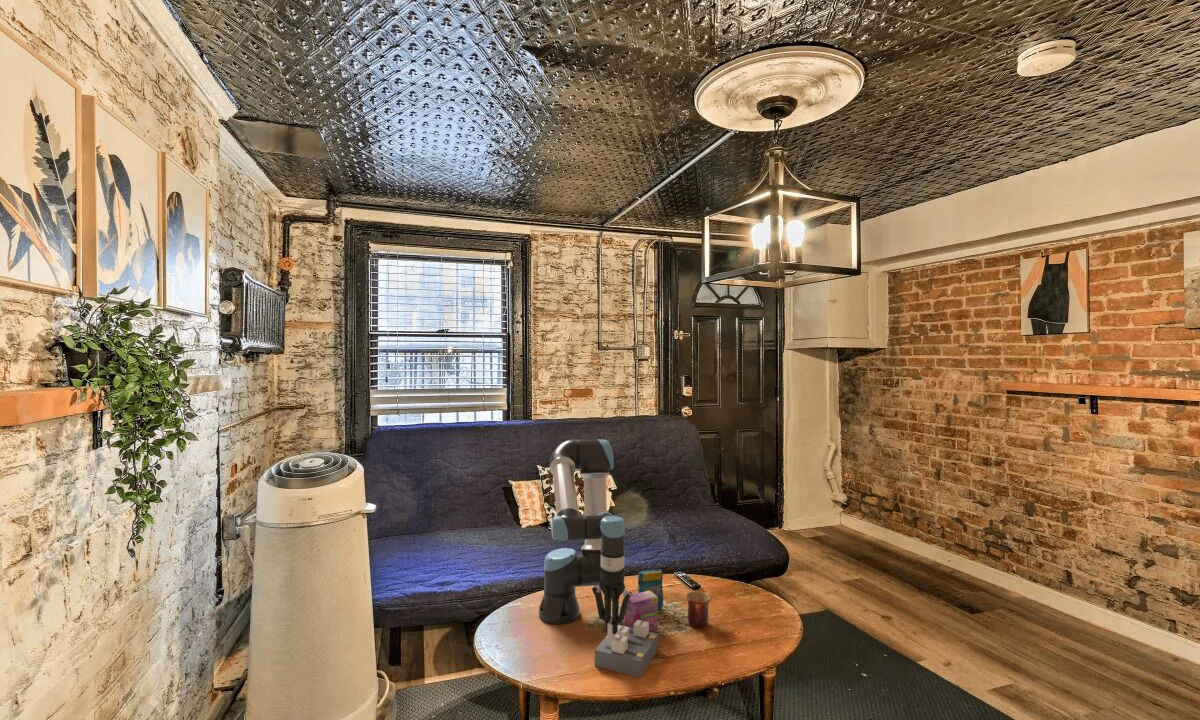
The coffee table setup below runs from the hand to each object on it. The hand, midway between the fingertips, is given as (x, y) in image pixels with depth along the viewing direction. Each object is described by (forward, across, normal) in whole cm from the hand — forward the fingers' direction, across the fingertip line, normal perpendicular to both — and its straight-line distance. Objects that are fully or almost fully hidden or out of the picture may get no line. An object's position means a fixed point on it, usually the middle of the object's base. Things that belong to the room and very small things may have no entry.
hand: (611, 642), depth 172 cm
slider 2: (+2, +3, 0) cm, 3 cm away
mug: (+7, +19, +36) cm, 41 cm away
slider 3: (+2, +6, +12) cm, 14 cm away
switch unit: (+7, +3, +6) cm, 10 cm away
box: (+7, +1, +25) cm, 26 cm away
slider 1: (+2, +1, +6) cm, 7 cm away
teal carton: (+7, 0, +39) cm, 40 cm away
